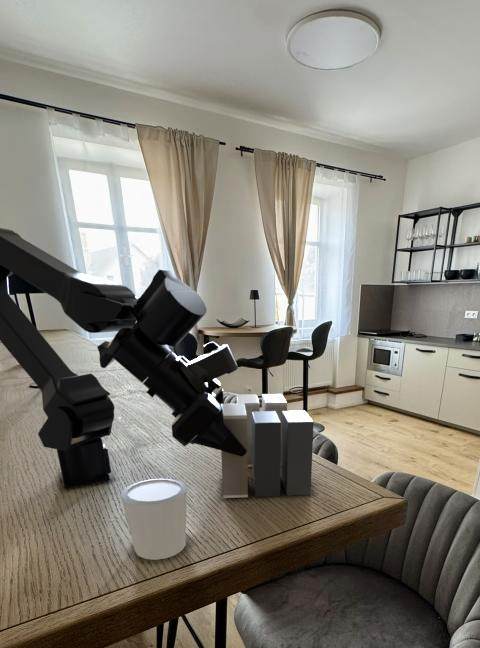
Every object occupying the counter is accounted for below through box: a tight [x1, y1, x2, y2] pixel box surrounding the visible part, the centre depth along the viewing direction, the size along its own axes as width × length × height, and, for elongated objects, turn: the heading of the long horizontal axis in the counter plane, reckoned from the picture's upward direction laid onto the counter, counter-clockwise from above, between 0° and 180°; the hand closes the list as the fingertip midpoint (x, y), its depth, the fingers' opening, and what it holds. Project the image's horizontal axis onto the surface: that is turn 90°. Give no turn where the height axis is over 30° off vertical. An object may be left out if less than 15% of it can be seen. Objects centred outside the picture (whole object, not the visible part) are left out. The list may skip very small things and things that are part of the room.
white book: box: [261, 393, 288, 467], centre depth 72 cm, size 4×7×11 cm, turn 7°
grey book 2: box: [280, 410, 315, 497], centre depth 61 cm, size 4×6×11 cm, turn 7°
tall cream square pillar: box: [220, 402, 249, 499], centre depth 59 cm, size 4×7×12 cm, turn 7°
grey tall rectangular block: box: [236, 393, 261, 468], centre depth 71 cm, size 4×7×11 cm, turn 7°
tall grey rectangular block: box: [252, 410, 281, 498], centre depth 60 cm, size 4×6×11 cm, turn 7°
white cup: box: [120, 478, 188, 561], centre depth 46 cm, size 7×7×7 cm
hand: (243, 445), depth 59 cm, fingers closed on tall cream square pillar, 7 cm apart
